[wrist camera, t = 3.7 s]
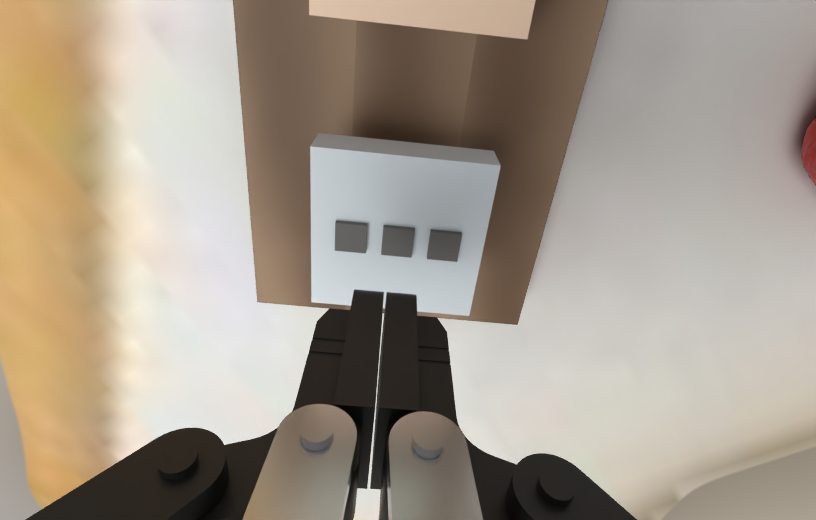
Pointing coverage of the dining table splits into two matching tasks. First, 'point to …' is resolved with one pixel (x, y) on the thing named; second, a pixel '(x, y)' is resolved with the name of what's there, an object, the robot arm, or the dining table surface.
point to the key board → (408, 124)
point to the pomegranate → (810, 151)
